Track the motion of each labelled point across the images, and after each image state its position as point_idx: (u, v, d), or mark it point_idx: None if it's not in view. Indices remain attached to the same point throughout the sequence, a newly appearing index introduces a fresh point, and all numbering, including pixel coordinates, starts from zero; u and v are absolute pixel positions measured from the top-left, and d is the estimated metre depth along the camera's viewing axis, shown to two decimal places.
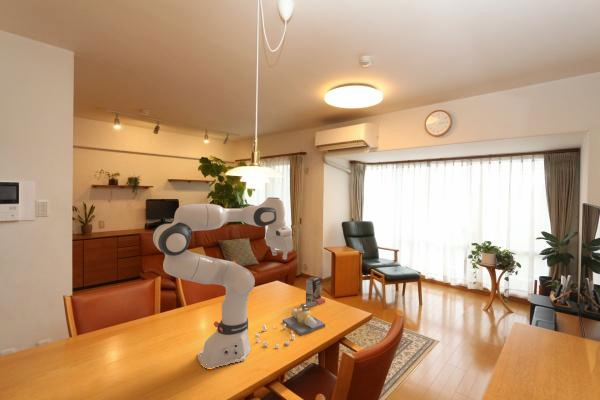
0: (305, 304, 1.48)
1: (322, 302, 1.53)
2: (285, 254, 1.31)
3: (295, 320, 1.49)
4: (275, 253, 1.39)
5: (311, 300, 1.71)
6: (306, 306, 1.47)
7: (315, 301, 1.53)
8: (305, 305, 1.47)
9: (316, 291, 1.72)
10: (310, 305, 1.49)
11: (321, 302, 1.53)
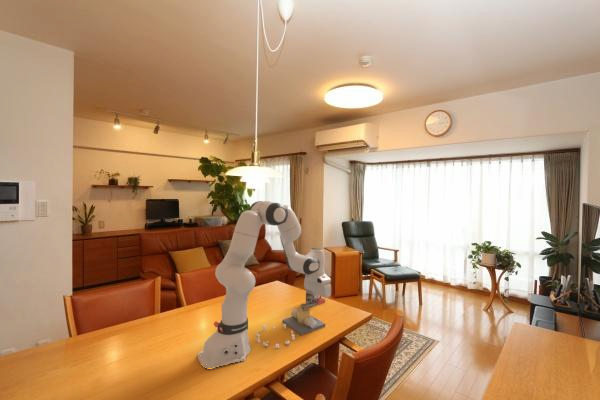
0: (305, 304, 1.48)
1: (322, 302, 1.53)
2: (318, 296, 1.55)
3: (295, 320, 1.49)
4: None
5: (311, 300, 1.71)
6: (306, 306, 1.47)
7: (315, 301, 1.53)
8: (305, 305, 1.47)
9: None
10: (310, 305, 1.49)
11: (321, 302, 1.53)
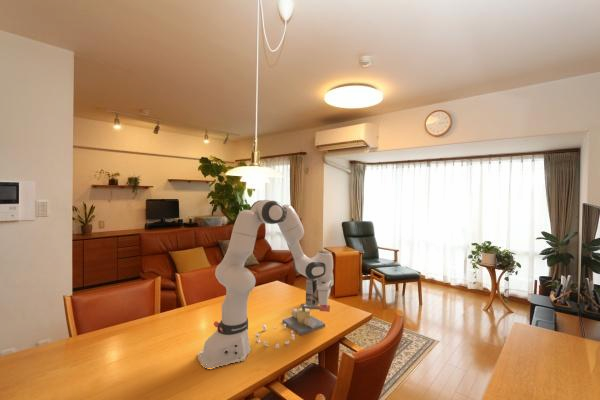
0: (305, 305, 1.47)
1: (325, 309, 1.44)
2: None
3: (295, 320, 1.49)
4: (325, 304, 1.47)
5: (311, 300, 1.71)
6: (305, 307, 1.46)
7: (319, 306, 1.46)
8: (304, 305, 1.46)
9: (316, 291, 1.72)
10: (310, 307, 1.46)
11: (324, 309, 1.44)
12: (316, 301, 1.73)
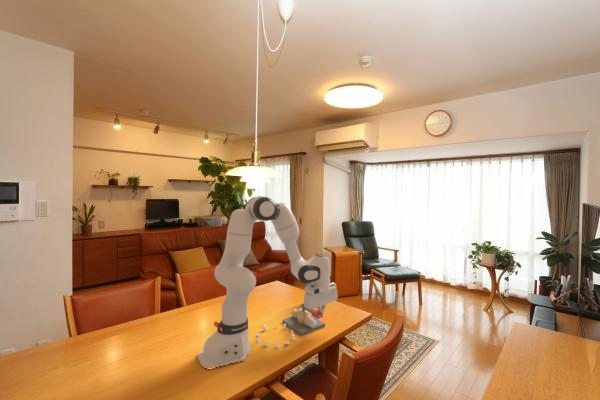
0: None
1: (315, 315, 1.37)
2: (318, 308, 1.39)
3: (295, 320, 1.49)
4: None
5: None
6: (303, 307, 1.46)
7: (314, 310, 1.41)
8: (302, 305, 1.47)
9: None
10: (306, 309, 1.44)
11: (314, 314, 1.37)
12: None
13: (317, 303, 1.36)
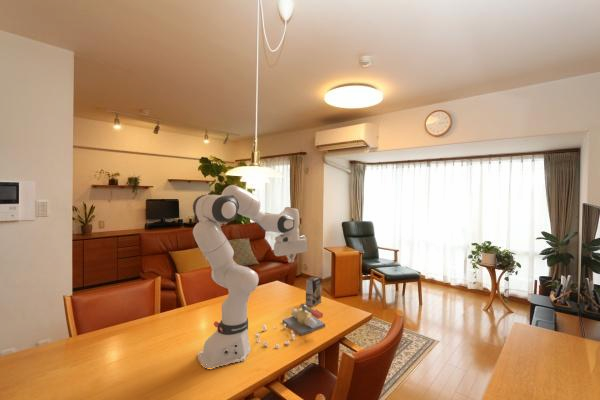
0: (304, 305, 1.47)
1: (315, 315, 1.37)
2: (287, 257, 1.49)
3: (295, 320, 1.49)
4: None
5: (311, 300, 1.71)
6: (303, 307, 1.46)
7: (314, 310, 1.41)
8: (302, 305, 1.47)
9: (316, 291, 1.72)
10: (306, 309, 1.44)
11: (314, 314, 1.37)
12: (316, 301, 1.73)
13: (286, 251, 1.46)
